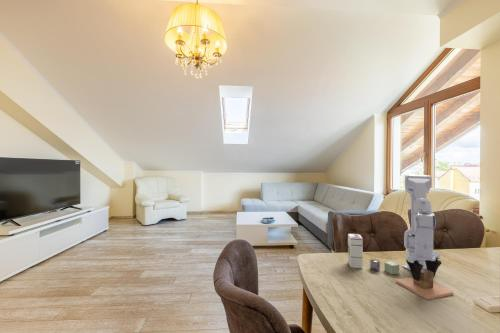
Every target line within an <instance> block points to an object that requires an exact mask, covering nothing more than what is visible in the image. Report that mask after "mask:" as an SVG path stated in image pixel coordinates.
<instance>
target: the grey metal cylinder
mask: <svg viewBox="0 0 500 333" xmlns="http://www.w3.org/2000/svg"><path fill="white" fill-rule="evenodd" d="M369 269H370V270H371V271H372V272H380V271H381V261H380V260H379V259H376V258H375V259H373V258H371V259H370V260H369Z"/></svg>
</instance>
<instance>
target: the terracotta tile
mask: <svg viewBox="0 0 500 333" xmlns="http://www.w3.org/2000/svg"><path fill="white" fill-rule="evenodd" d="M395 283H396V284H398V285H399V286H402V287H404V288H405V289H407V290H409V291H411V292H413V293H414V294H415V295H418V296H420V297H422V298H424V299H426V300H427V301H429V300H433V299H439V298H442V297H449V296H454V291H452V290H450V289H449V288H446V287H444V286H441V285H439V284H438V283H435V282H433V288H429V289H423V288H421V287H419V286H417V285H415V284H413V276H412V277H405V278H400V279H395Z"/></svg>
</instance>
